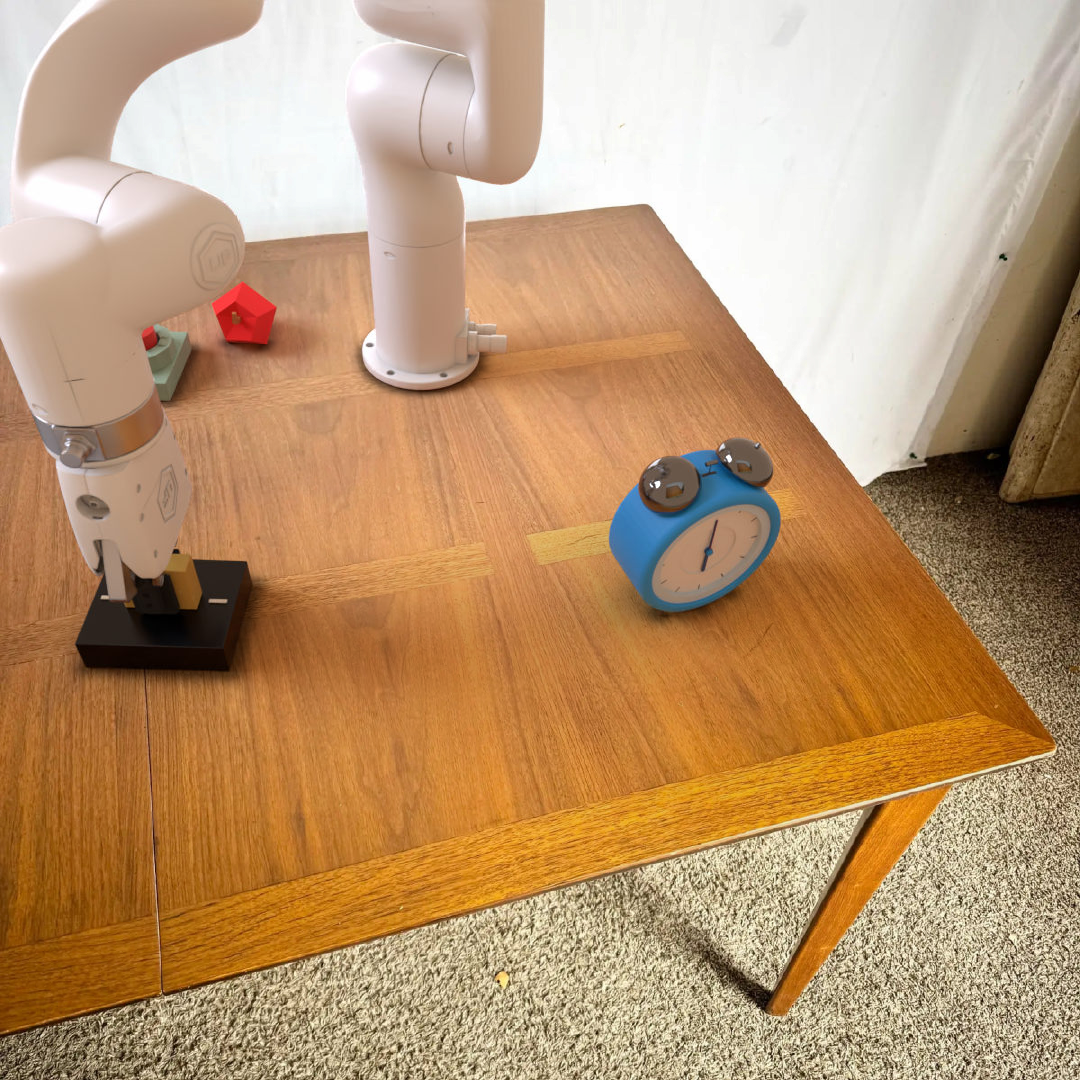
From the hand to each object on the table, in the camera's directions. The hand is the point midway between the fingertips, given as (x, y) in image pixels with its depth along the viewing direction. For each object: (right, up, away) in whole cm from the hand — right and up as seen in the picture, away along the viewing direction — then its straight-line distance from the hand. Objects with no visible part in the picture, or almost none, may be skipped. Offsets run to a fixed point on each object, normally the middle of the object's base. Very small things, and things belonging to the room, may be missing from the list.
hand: (163, 596), depth 75 cm
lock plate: (0, -2, +2) cm, 3 cm away
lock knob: (0, 0, 0) cm, 0 cm away
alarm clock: (+42, 0, +9) cm, 43 cm away
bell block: (-11, +22, +25) cm, 35 cm away
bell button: (-11, +24, +22) cm, 35 cm away
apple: (-2, +26, +30) cm, 40 cm away
